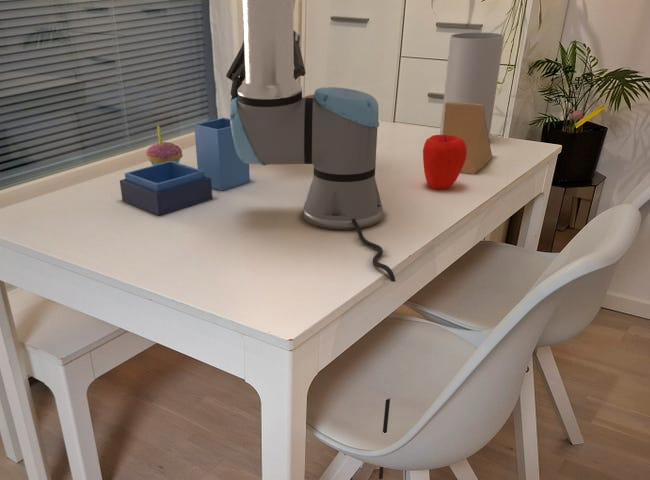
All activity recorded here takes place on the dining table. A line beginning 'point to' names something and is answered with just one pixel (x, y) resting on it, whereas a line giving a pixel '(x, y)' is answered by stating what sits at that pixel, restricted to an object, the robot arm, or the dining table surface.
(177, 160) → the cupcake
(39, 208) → the dining table surface
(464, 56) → the cylinder vase
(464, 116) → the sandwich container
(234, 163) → the lone bin
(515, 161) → the dining table surface
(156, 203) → the bin stack
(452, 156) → the apple
